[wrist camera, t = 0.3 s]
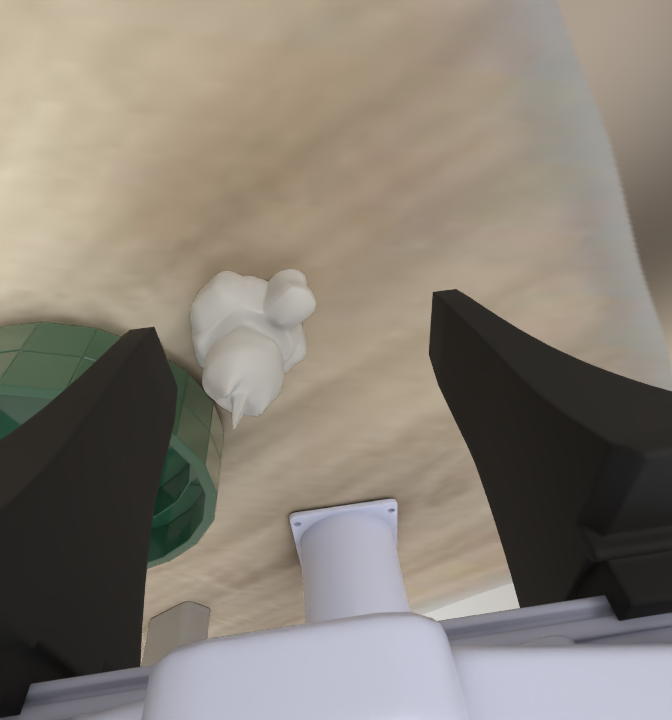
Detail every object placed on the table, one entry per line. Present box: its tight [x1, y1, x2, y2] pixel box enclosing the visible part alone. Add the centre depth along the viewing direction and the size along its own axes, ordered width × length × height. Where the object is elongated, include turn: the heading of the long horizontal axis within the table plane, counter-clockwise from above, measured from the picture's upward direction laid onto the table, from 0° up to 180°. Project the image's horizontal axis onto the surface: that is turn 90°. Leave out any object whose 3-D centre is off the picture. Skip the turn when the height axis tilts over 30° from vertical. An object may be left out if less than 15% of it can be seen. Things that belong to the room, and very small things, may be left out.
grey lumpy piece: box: [190, 269, 316, 430], centre depth 19 cm, size 5×7×8 cm
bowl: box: [0, 322, 224, 569], centre depth 24 cm, size 15×15×5 cm
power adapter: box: [141, 602, 210, 667], centre depth 37 cm, size 3×5×12 cm, turn 126°
